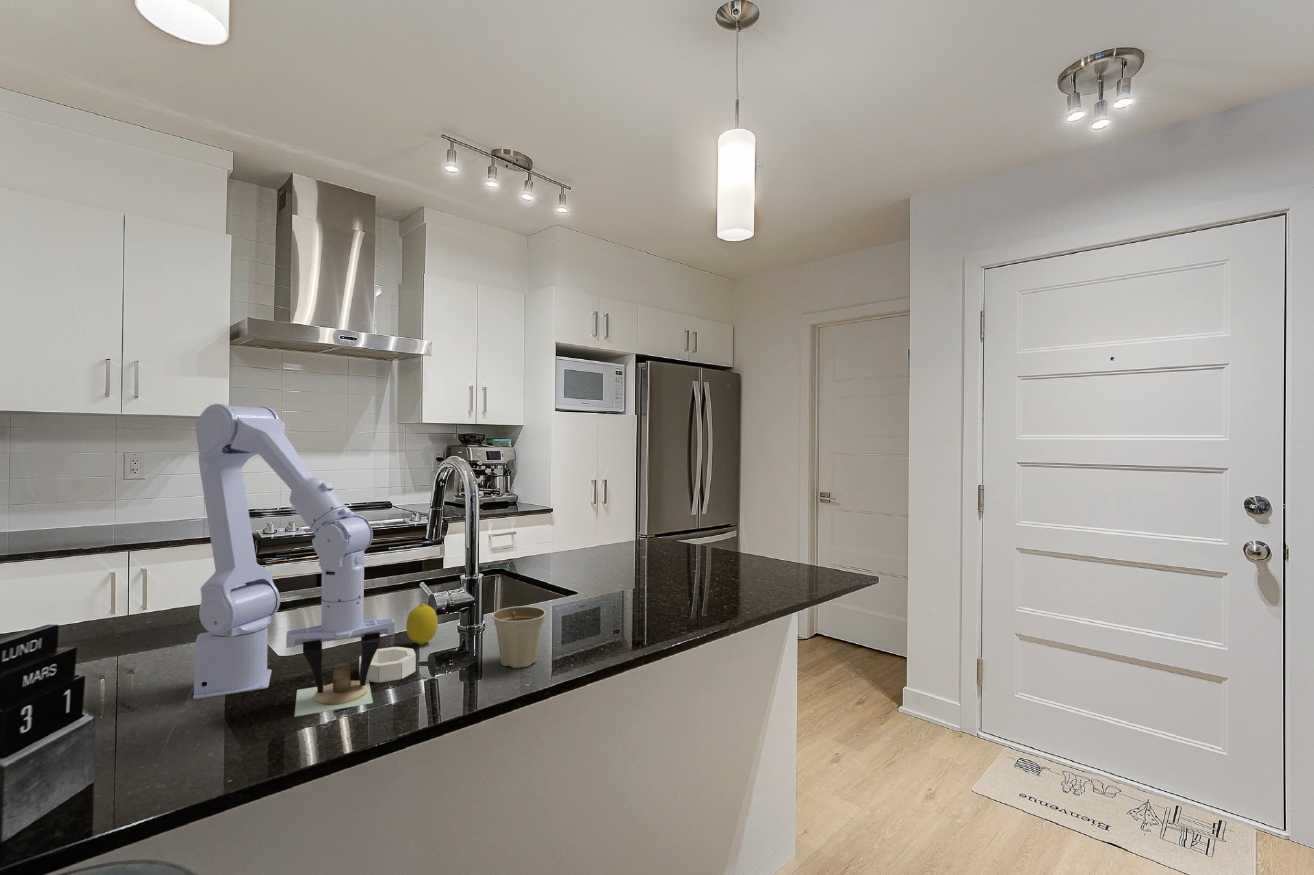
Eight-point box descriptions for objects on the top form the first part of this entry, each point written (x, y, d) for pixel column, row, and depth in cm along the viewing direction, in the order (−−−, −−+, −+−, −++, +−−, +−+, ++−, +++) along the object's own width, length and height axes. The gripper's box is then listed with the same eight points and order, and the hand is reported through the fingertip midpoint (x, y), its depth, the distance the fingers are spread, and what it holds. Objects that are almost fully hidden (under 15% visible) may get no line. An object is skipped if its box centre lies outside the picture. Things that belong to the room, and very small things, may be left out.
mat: (294, 719, 87) (294, 716, 87) (297, 692, 96) (297, 690, 96) (372, 705, 92) (372, 702, 92) (368, 681, 101) (368, 678, 101)
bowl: (361, 687, 98) (361, 668, 98) (358, 669, 106) (358, 651, 106) (417, 678, 102) (417, 660, 102) (411, 661, 110) (411, 644, 110)
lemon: (427, 652, 115) (427, 608, 115) (399, 649, 116) (400, 606, 116) (443, 642, 120) (443, 600, 120) (417, 639, 121) (417, 598, 121)
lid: (315, 708, 90) (315, 678, 90) (315, 690, 96) (315, 662, 96) (368, 699, 93) (368, 670, 93) (365, 682, 99) (366, 655, 99)
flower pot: (480, 661, 110) (481, 613, 110) (525, 649, 117) (525, 603, 117) (511, 676, 104) (511, 624, 104) (556, 662, 111) (557, 613, 111)
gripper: (285, 609, 87) (284, 706, 88) (397, 598, 94) (396, 688, 94) (288, 597, 94) (287, 688, 94) (392, 587, 101) (391, 672, 101)
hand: (341, 687), depth 95 cm, fingers open, 5 cm apart
